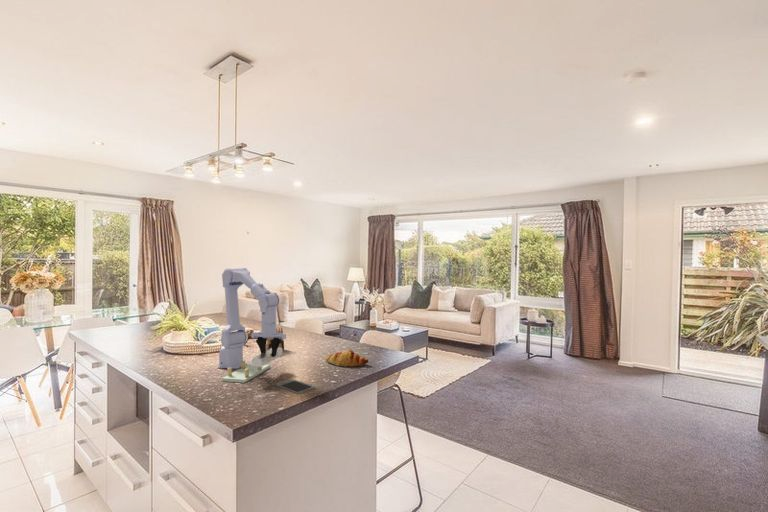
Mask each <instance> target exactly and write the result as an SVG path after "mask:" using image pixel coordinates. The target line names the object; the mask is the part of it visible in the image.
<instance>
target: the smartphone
mask: <svg viewBox="0 0 768 512" xmlns="http://www.w3.org/2000/svg"><path fill="white" fill-rule="evenodd" d="M274 386H276V387H278V388H281V389H284V390H286V391H290V392H292V393H295V394H297V395H300V394H304V393H306V392H309V391H312V390H314V389H316V386H313V385H311V384H308V383H306V382H302V381H300V380H296V379H294V378H289V379H286V380H284V381H280V382H276V383H275V384H274ZM311 389H312V390H311Z"/></svg>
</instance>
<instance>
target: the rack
mask: <svg viewBox="0 0 768 512" xmlns="http://www.w3.org/2000/svg"><path fill="white" fill-rule="evenodd" d="M245 363H246V360H243V361H241V367H240V368H238V369H237V370H235V371H233V369H232V368H227V375H225V376H223V377H221V382H228V383H240V384H241V383H242V384H246V383H247V382H249V381H250V380H251V379H253V378H256V377H257V376H259V375H260V374H262V373H264V372H265V371H267V370H269V369H270V368H271V364H265V365H264V366H262V367H258V366H252V363H248V364H246V365H245Z"/></svg>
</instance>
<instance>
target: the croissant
mask: <svg viewBox="0 0 768 512" xmlns="http://www.w3.org/2000/svg"><path fill="white" fill-rule="evenodd" d="M325 361H326V362H327V363H329V364H331V365H334V366H338V367H344V366H349V367H361V366H365V365H366V364H369V359H368V358H365V357H364V356H360V355H359V354H358V353H355V351H354V350H351V349H348V350H344V351H342V352H341V351H339V352H336V353H334V354H332V353H331V354H330V355H328V356H327V355H326V357H325Z"/></svg>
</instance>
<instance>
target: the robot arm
mask: <svg viewBox="0 0 768 512" xmlns="http://www.w3.org/2000/svg"><path fill="white" fill-rule="evenodd" d="M221 279H222V287H223V288H224V296H225V297H224V298H225V310H226V311H225V312H226V324H227V325H225V327H224V328H223V329H222V330H221V337H220V343H221V345H222V346H221V348H220V349H219V353H218V366H217V369H218V368H219V369H228V368H232V370H233V369H234V370H235V369H237V370H238V369H240V368H241V361H244V360H243V358H244V357H243V356H244V355H243V352H244V350H243V349H244V347H243V346H245V344H246V342H247V341H248V340H247V339H248V334H247V331H246V327H245V326H244V325H242V324H241V321H240V309H239V296H238V295H239V294H238V290H239V288H240V287H242V286H243V285H244V286H245V287H247V288H248V289H250V294H251V295H252V296H253V298H255V299H256V300H257V302H258V303H257V304H258V305H259V311H260V312H261V331H260V332H252V333H251V339H256V340H255V343H256V344H257V346H258V348H259V350H260V354H262V353H264V352H266V345H267V338H272V340H270V342H271V346H272V357H274V356H276V353H277V349H278V346H279V344H280V342H281V340H282V339H283V340H286V339H287V333H284V332H283V333H281V332H280V333H276V328H277V307H278V306H279V304H280V297H279V295H278V294H277V292H270V290H268V288H266V287H265V285H264V284H263V283H260V282H259V283H257V282H256V281H255V279H254V278H253V277H252V276H251V275H250V271H249V269H248V268H246V267H243V268H242V267H241V268H225V269H224V271H223V272H222V274H221ZM246 365H248V364H247V362H245V366H246Z"/></svg>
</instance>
